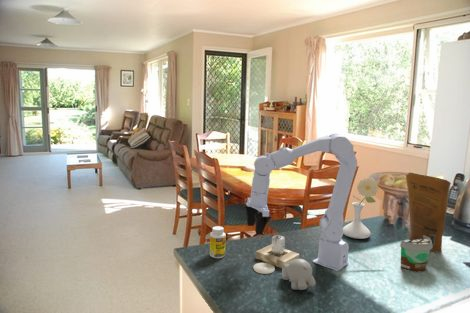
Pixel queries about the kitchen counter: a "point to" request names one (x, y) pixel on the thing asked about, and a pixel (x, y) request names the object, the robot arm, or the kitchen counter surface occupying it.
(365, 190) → the flower in vase
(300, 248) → the kitchen counter surface
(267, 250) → the beige flat block
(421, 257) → the food container
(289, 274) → the round bodied animal figurine
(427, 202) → the pancake mix bag
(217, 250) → the supplement bottle
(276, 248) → the end plug
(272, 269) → the coaster
